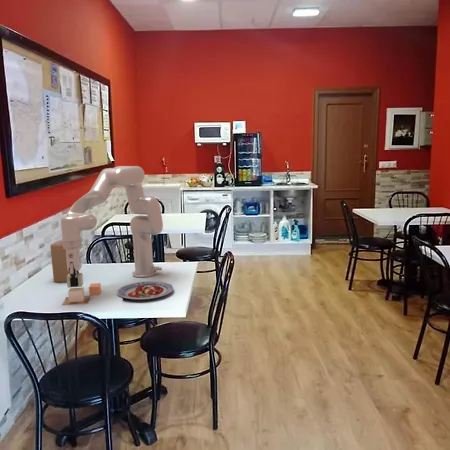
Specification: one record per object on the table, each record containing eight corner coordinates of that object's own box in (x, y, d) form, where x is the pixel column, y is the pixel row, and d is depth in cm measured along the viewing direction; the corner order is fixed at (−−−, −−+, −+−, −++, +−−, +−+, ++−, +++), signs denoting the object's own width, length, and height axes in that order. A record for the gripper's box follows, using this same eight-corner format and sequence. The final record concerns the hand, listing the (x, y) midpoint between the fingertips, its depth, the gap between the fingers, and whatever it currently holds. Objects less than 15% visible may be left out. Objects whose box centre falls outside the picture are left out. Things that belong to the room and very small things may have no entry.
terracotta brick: (91, 293, 225) (90, 283, 224) (101, 293, 226) (100, 282, 225) (89, 297, 219) (88, 287, 218) (99, 297, 220) (99, 286, 219)
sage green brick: (83, 283, 214) (82, 272, 213) (81, 286, 209) (80, 275, 208) (69, 284, 213) (68, 273, 212) (67, 287, 208) (66, 276, 208)
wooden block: (79, 277, 253) (76, 240, 250) (71, 282, 244) (68, 244, 240) (61, 277, 254) (58, 240, 251) (53, 282, 245) (49, 244, 241)
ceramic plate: (129, 285, 237) (128, 279, 237) (179, 286, 233) (179, 280, 233) (108, 302, 212) (107, 296, 212) (164, 304, 208) (164, 297, 208)
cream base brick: (84, 298, 215) (83, 287, 214) (83, 301, 211) (82, 290, 210) (70, 299, 214) (69, 288, 213) (69, 302, 210) (68, 291, 209)
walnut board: (91, 297, 219) (91, 295, 218) (88, 305, 208) (88, 303, 208) (66, 299, 217) (66, 297, 217) (62, 307, 206) (61, 305, 206)
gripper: (78, 247, 200) (81, 289, 203) (83, 239, 217) (86, 278, 220) (59, 249, 199) (63, 291, 202) (66, 240, 216) (69, 279, 219)
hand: (75, 284), depth 211 cm, fingers closed on sage green brick, 4 cm apart
